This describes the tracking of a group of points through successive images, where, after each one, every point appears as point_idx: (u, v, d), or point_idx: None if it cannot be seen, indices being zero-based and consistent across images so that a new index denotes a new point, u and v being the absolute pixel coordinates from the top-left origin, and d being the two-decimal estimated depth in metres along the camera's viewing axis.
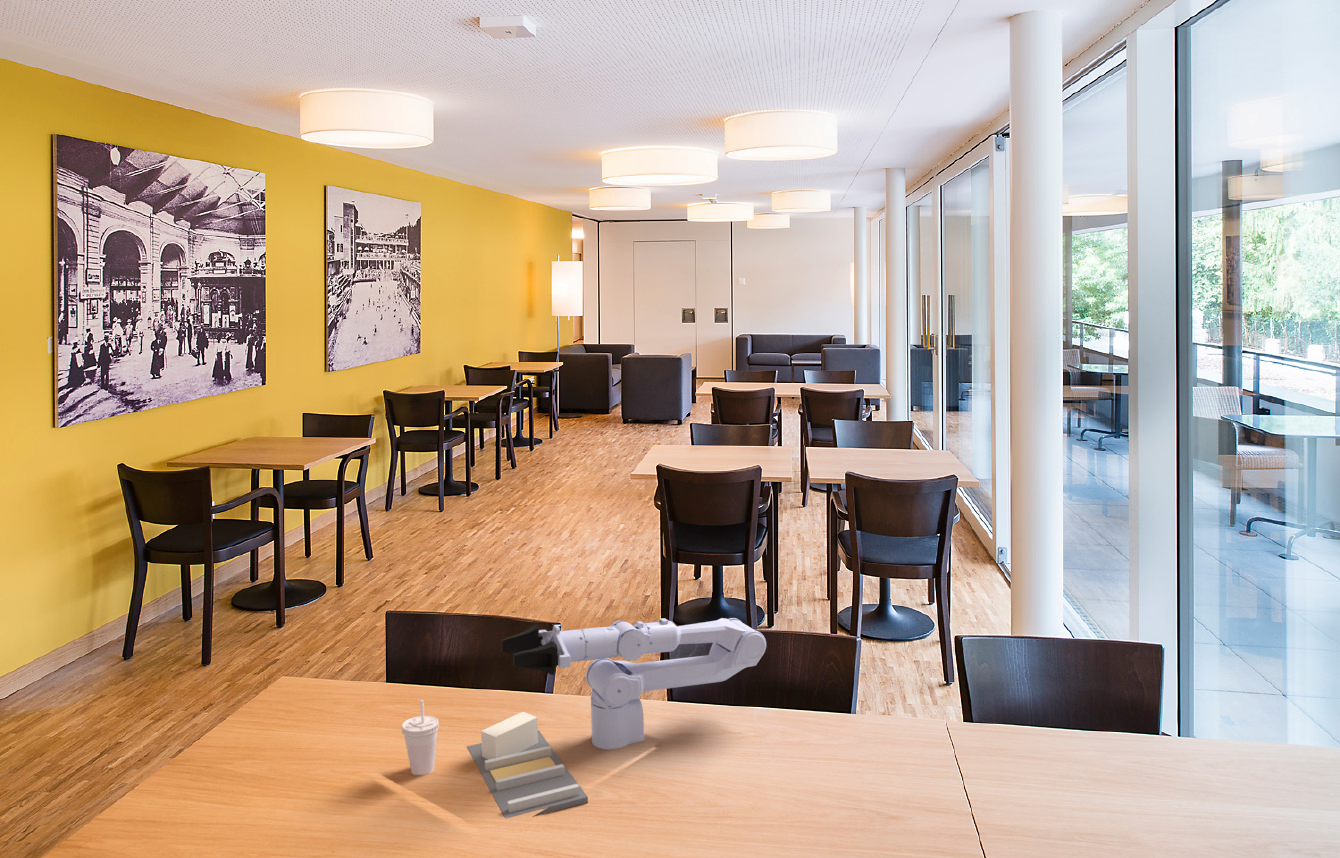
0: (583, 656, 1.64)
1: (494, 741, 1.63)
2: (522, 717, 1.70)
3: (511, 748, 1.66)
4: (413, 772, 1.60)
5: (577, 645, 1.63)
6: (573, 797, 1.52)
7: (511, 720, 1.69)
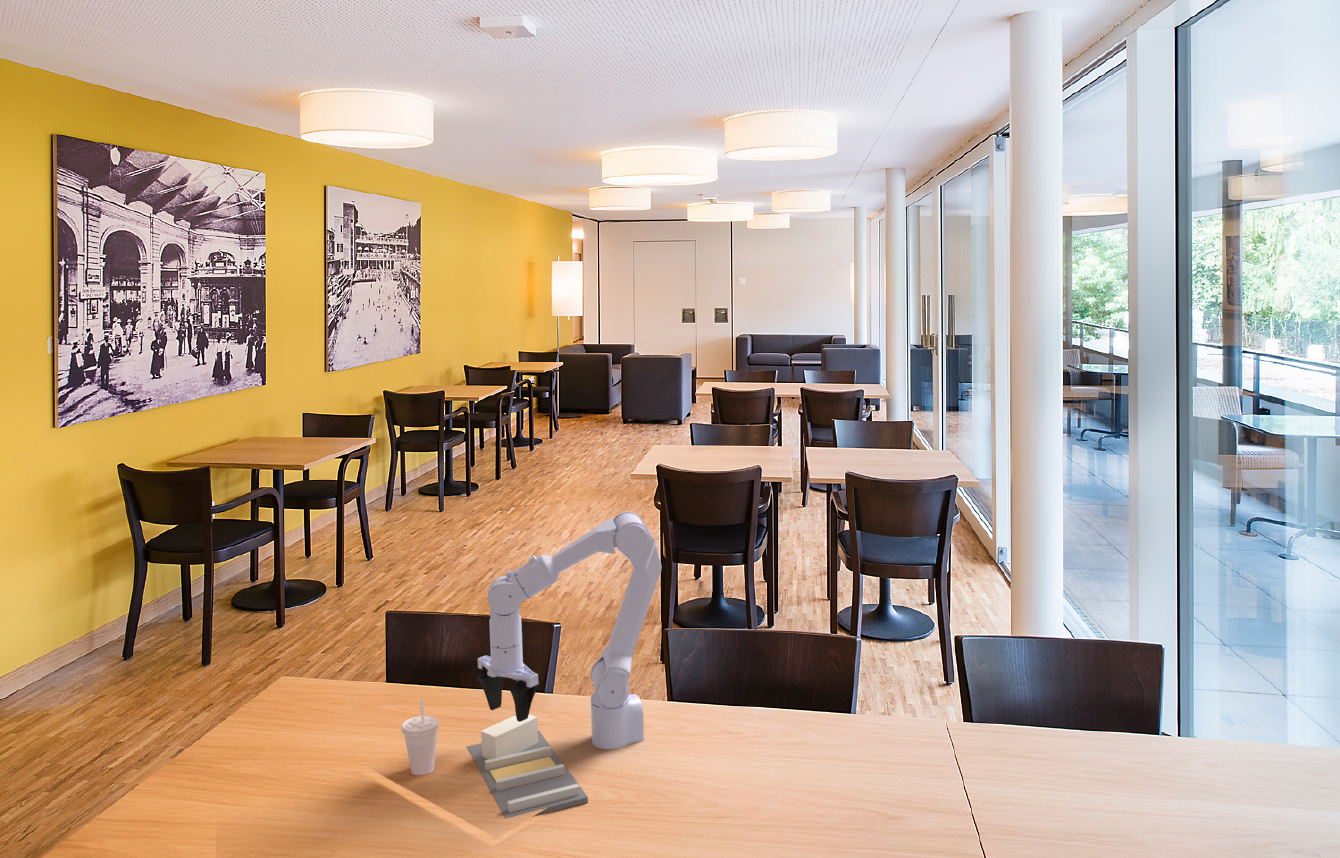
0: (520, 645, 1.65)
1: (494, 741, 1.63)
2: None
3: (511, 748, 1.66)
4: (413, 772, 1.60)
5: (511, 656, 1.63)
6: (573, 797, 1.52)
7: (511, 720, 1.69)
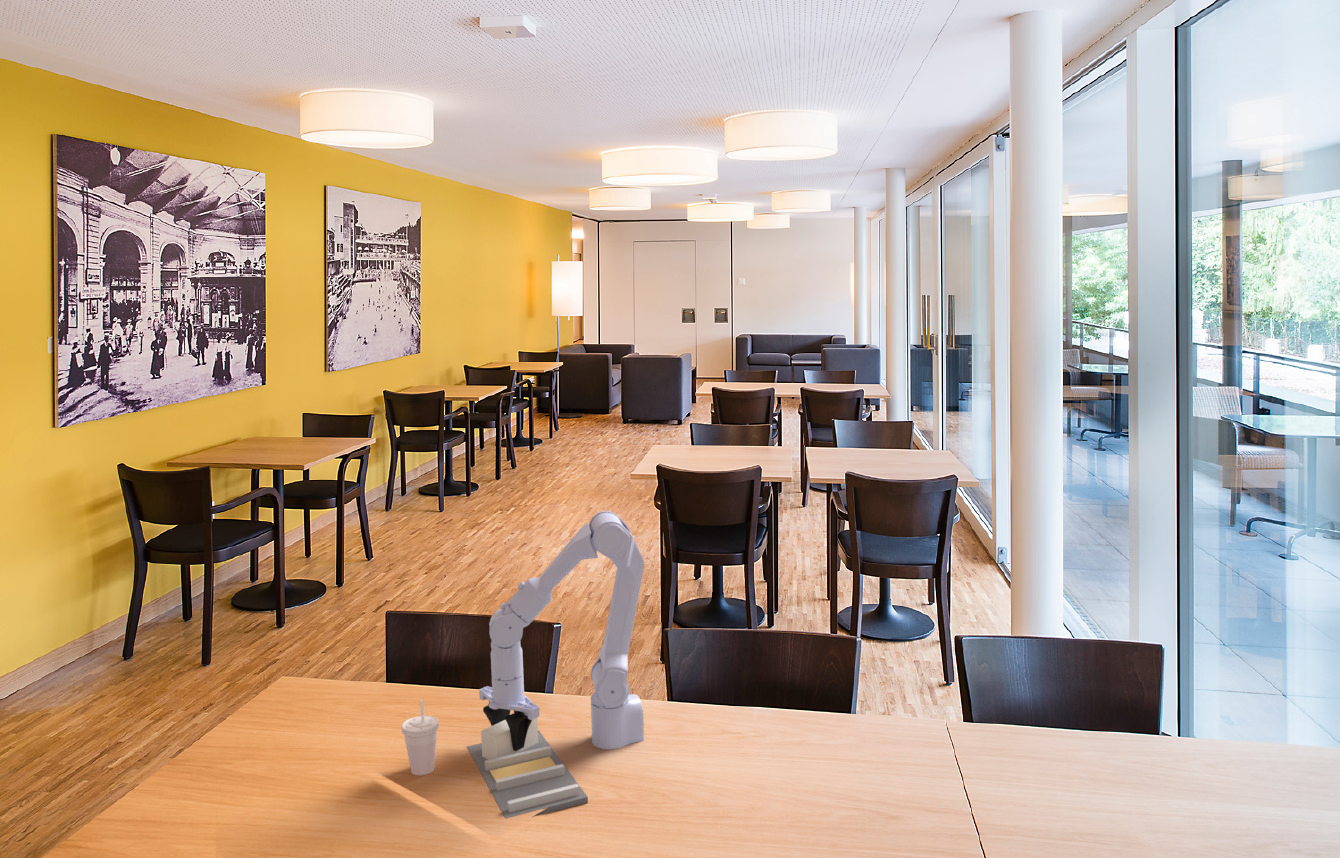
0: (521, 677, 1.66)
1: (494, 741, 1.63)
2: None
3: (511, 748, 1.66)
4: (413, 772, 1.60)
5: (513, 688, 1.64)
6: (573, 797, 1.52)
7: None
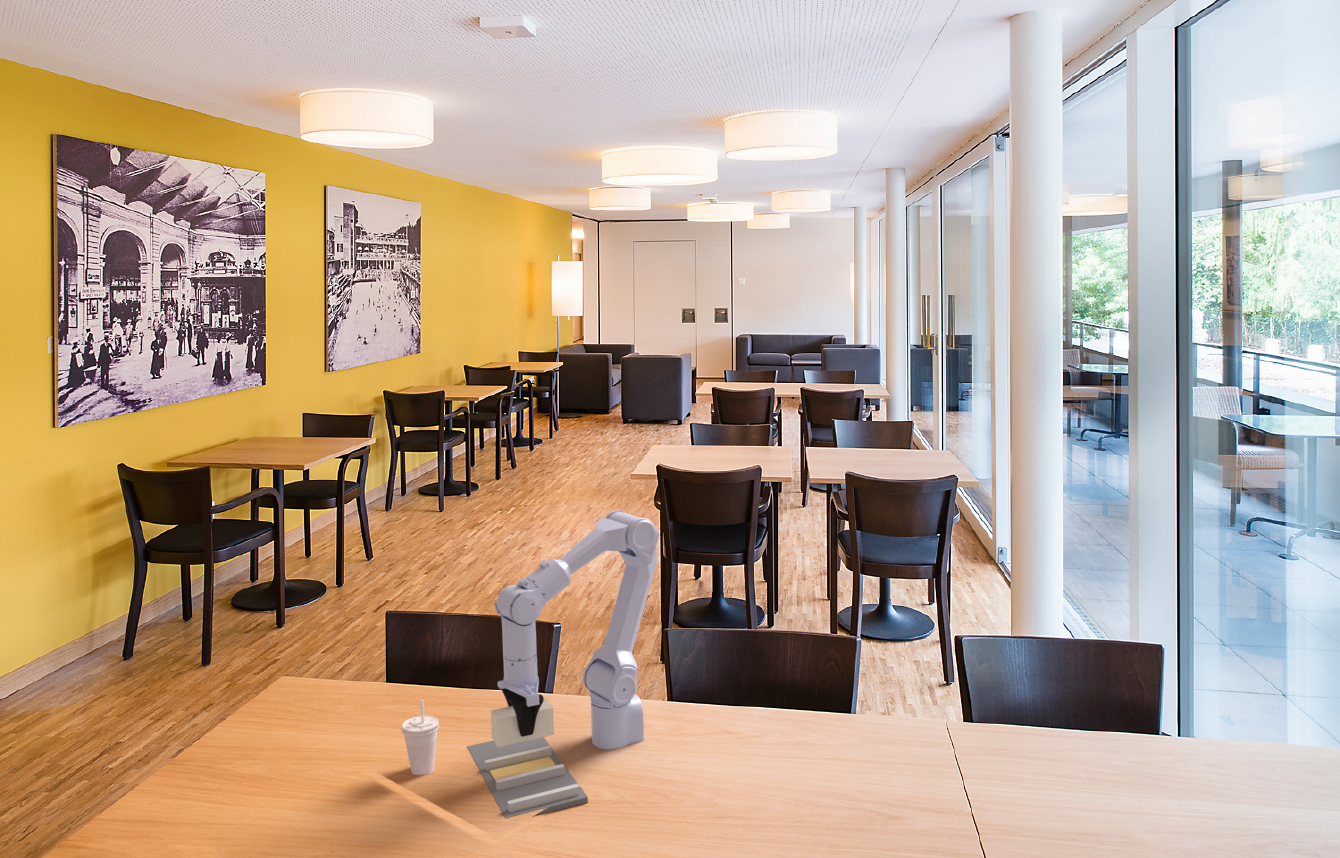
0: (531, 660, 1.56)
1: (496, 723, 1.55)
2: None
3: (518, 735, 1.57)
4: (413, 772, 1.60)
5: (518, 670, 1.55)
6: (573, 797, 1.52)
7: None
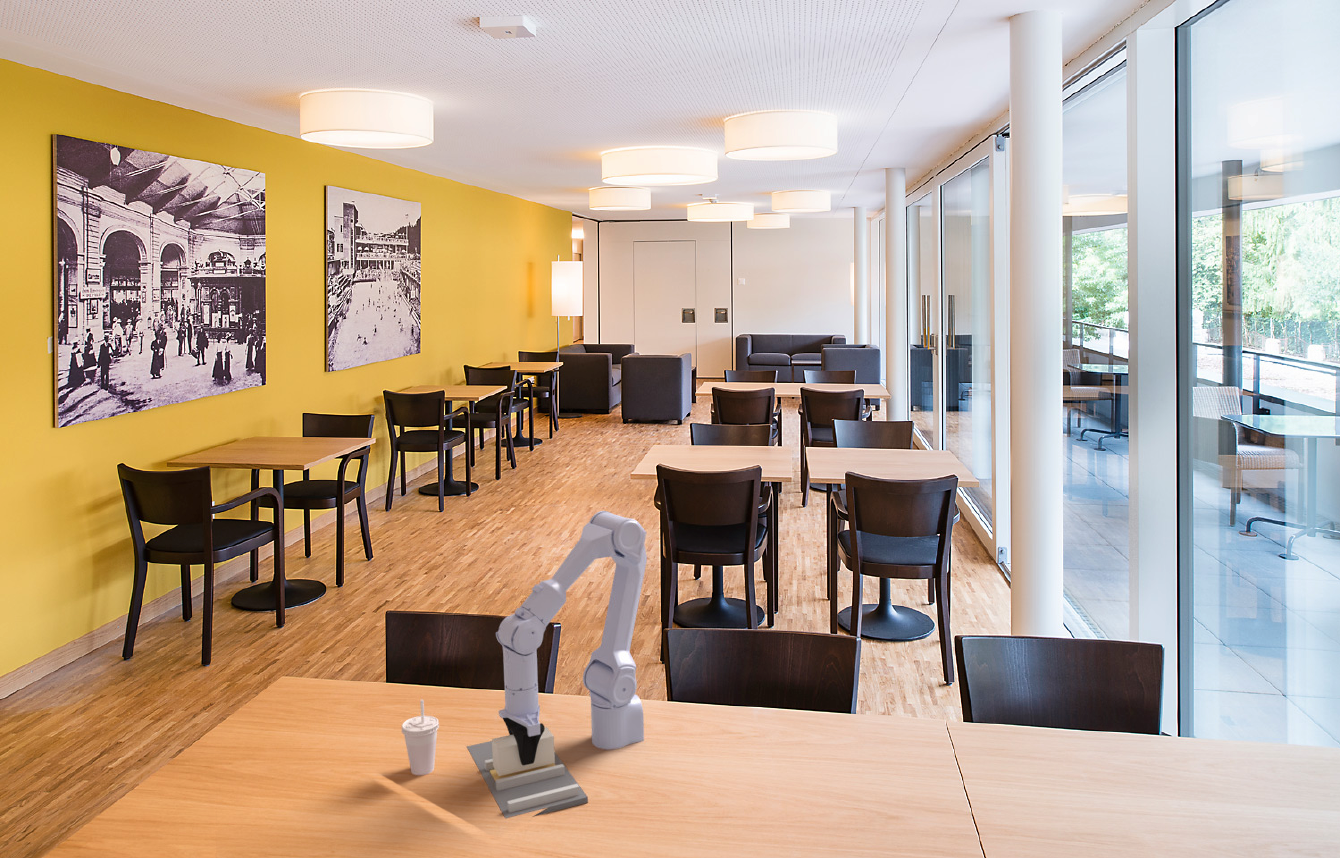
0: (532, 689, 1.56)
1: (497, 752, 1.56)
2: None
3: (519, 764, 1.58)
4: (413, 772, 1.60)
5: (520, 699, 1.56)
6: (573, 797, 1.52)
7: None
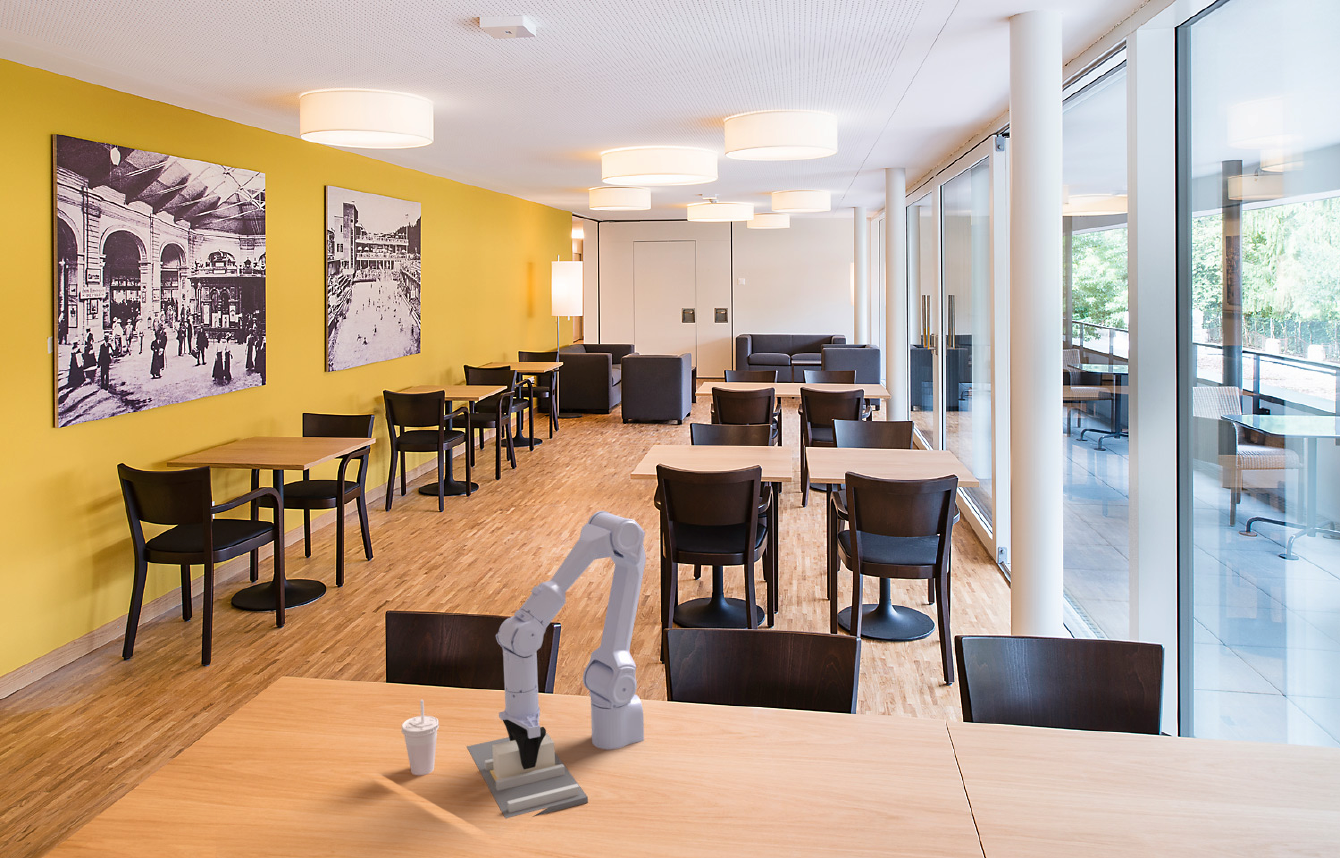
0: (532, 691, 1.56)
1: (497, 759, 1.56)
2: None
3: (519, 770, 1.58)
4: (413, 772, 1.60)
5: (520, 701, 1.56)
6: (573, 797, 1.52)
7: None
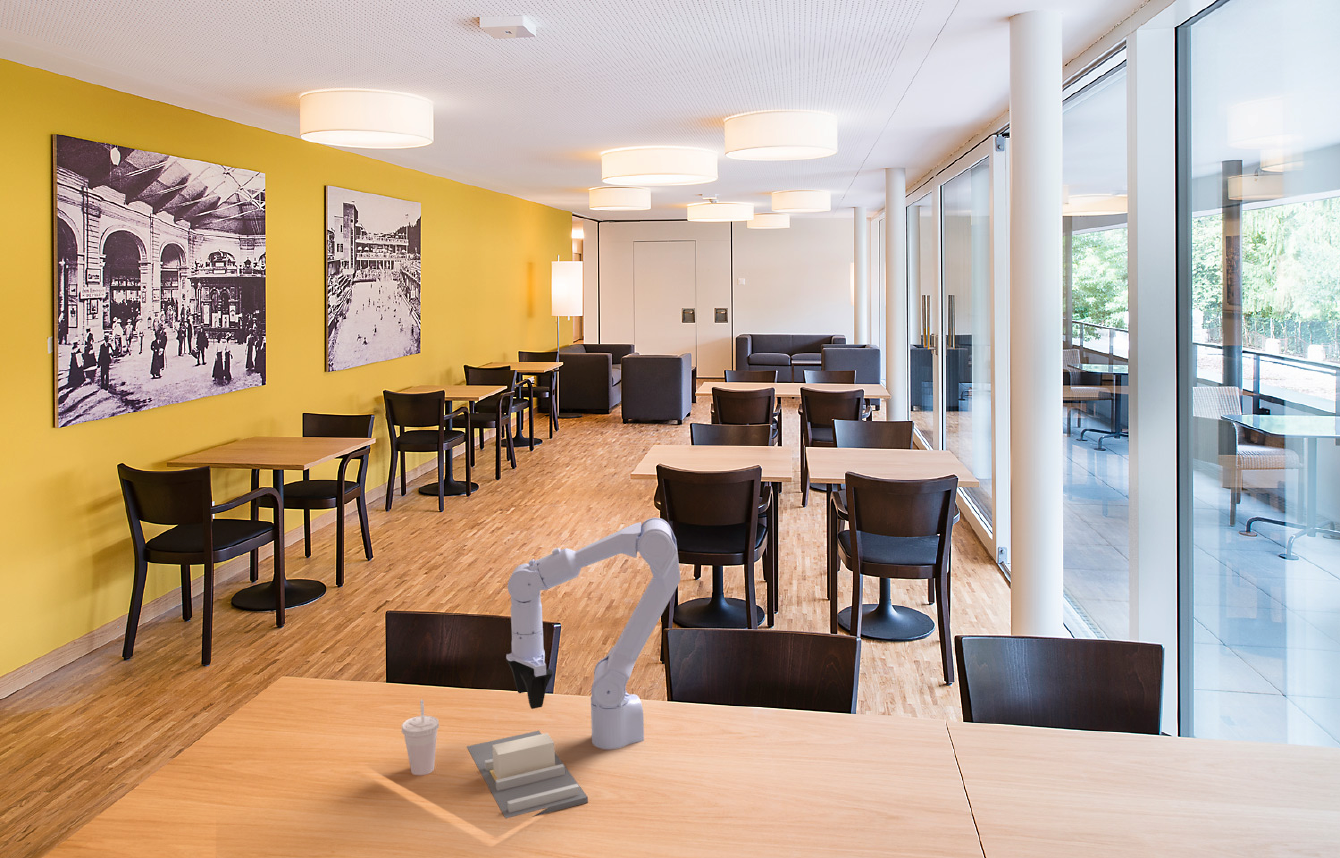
0: (537, 634, 1.67)
1: (497, 759, 1.56)
2: (541, 739, 1.61)
3: (519, 770, 1.58)
4: (413, 772, 1.60)
5: (526, 643, 1.66)
6: (573, 797, 1.52)
7: (528, 740, 1.61)
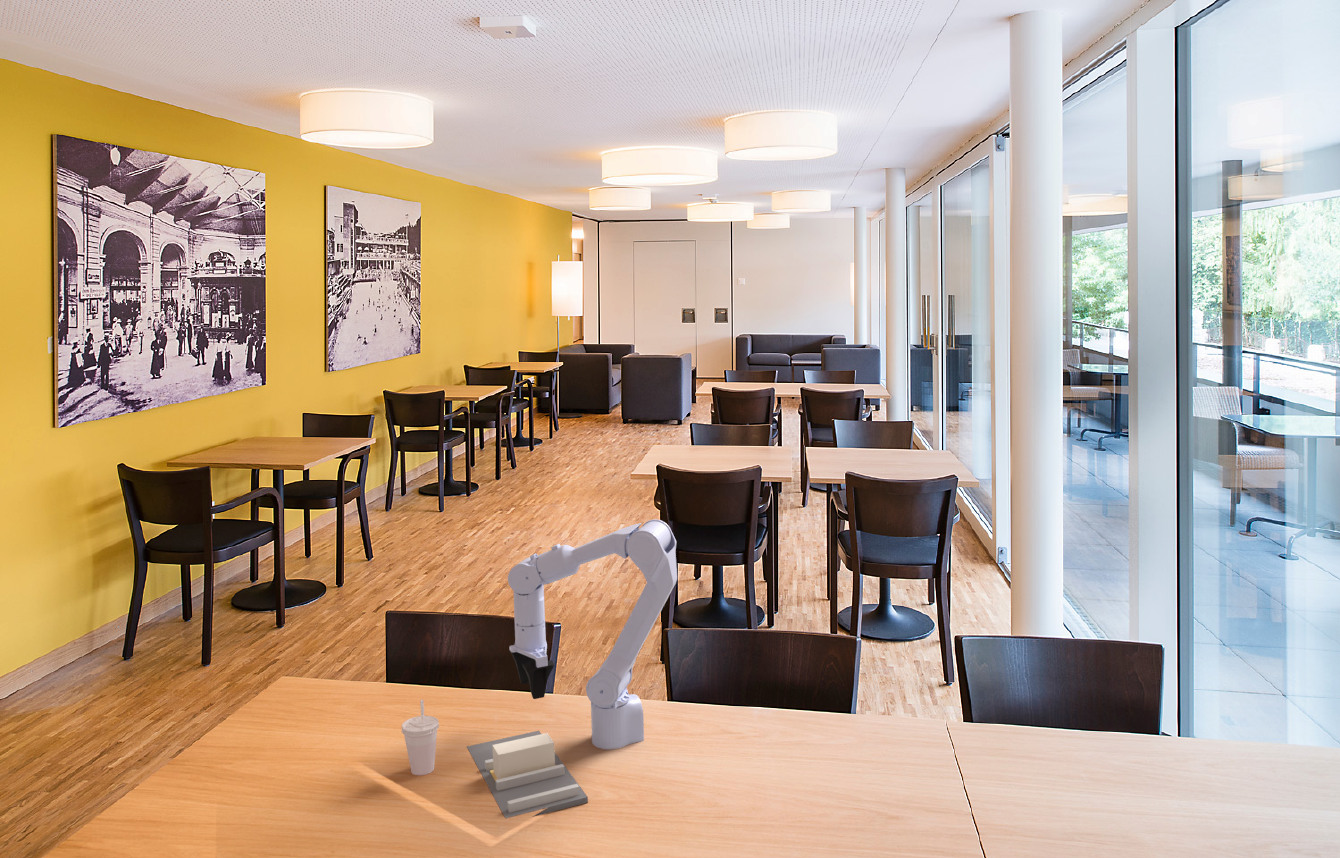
0: (540, 626, 1.71)
1: (497, 759, 1.56)
2: (541, 739, 1.61)
3: (519, 770, 1.58)
4: (413, 772, 1.60)
5: (528, 634, 1.70)
6: (573, 797, 1.52)
7: (528, 740, 1.61)
